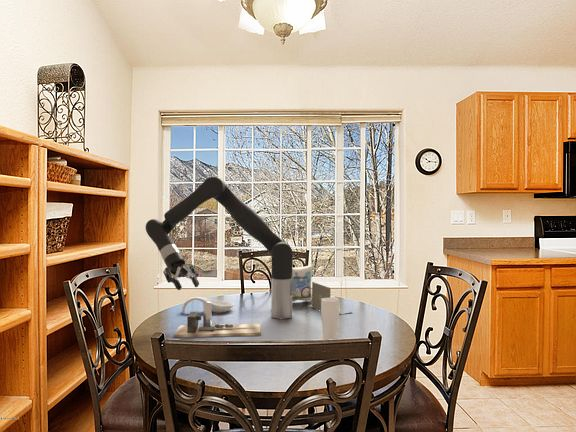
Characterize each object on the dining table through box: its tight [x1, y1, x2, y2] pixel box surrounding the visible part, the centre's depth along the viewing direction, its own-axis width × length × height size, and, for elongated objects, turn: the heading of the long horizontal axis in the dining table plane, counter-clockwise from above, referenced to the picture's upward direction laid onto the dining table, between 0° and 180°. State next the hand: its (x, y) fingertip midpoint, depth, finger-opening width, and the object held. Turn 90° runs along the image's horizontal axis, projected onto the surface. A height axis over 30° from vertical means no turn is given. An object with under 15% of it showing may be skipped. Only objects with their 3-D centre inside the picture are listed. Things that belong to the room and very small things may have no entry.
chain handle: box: [198, 301, 233, 330], centre depth 153 cm, size 13×5×10 cm, turn 95°
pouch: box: [292, 263, 314, 302], centre depth 203 cm, size 8×19×20 cm, turn 114°
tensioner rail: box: [173, 310, 262, 338], centre depth 153 cm, size 32×12×7 cm, turn 95°
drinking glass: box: [320, 297, 341, 341], centre depth 143 cm, size 7×7×15 cm
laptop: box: [311, 281, 331, 312], centre depth 188 cm, size 18×12×13 cm
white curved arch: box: [181, 296, 234, 314], centre depth 184 cm, size 24×12×7 cm, turn 102°
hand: (189, 287), depth 159 cm, fingers open, 8 cm apart
